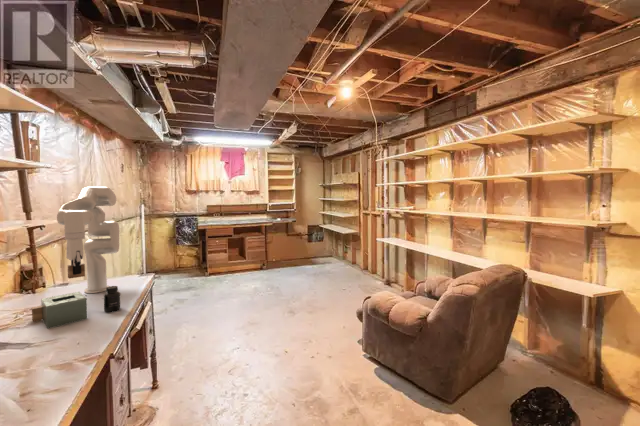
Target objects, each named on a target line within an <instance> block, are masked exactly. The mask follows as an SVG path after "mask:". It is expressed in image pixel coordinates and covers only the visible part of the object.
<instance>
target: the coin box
mask: <svg viewBox="0 0 640 426" xmlns="http://www.w3.org/2000/svg"><path fill="white" fill-rule="evenodd" d="M40 302H41V304H40V306H42V320H41V321H42V322H43V324H44V326H45V327H46V329H53V328H56V327H60V326H65V325H69V324H72V323H75V322H80V321H84V320H87V319H88V309H87V308H88V307H87V305H88V304H87V297H86V296H85V295H84V294H82V293H81V292H80V291H75V292H70V293H65V294H61V295H59V294H58V295H55V296H50V297H45V298H41V300H40Z"/></svg>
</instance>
